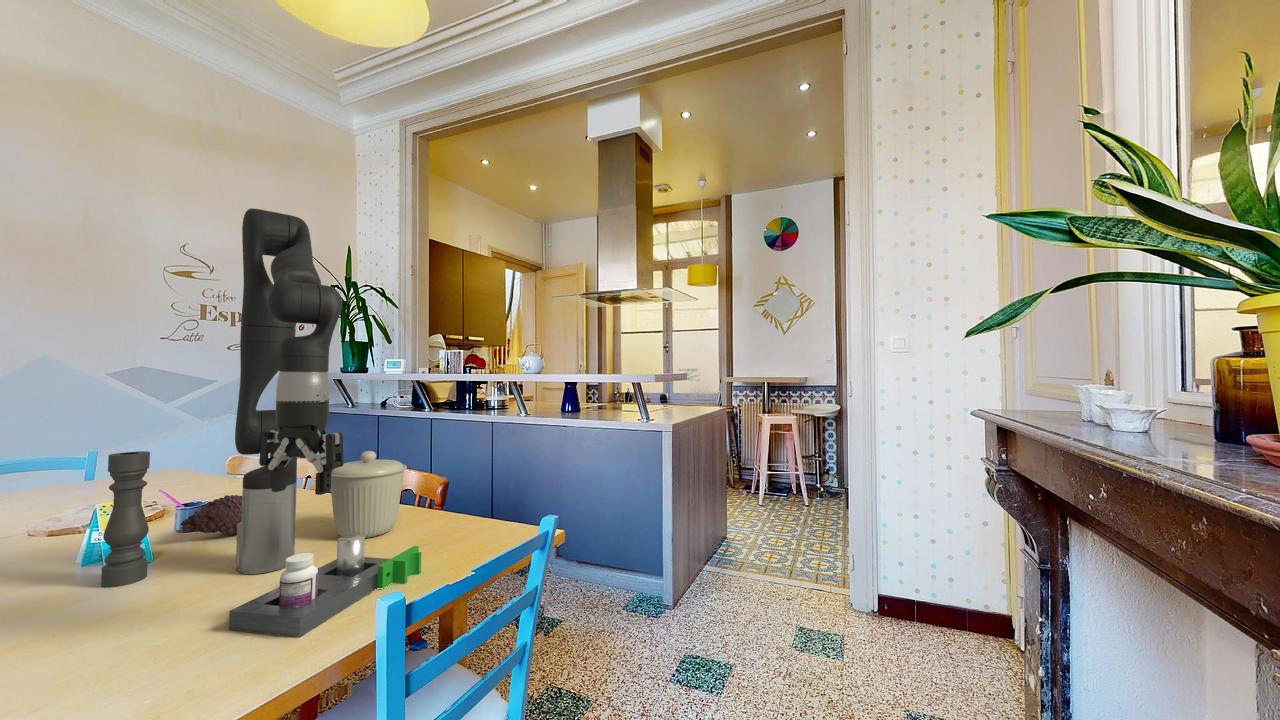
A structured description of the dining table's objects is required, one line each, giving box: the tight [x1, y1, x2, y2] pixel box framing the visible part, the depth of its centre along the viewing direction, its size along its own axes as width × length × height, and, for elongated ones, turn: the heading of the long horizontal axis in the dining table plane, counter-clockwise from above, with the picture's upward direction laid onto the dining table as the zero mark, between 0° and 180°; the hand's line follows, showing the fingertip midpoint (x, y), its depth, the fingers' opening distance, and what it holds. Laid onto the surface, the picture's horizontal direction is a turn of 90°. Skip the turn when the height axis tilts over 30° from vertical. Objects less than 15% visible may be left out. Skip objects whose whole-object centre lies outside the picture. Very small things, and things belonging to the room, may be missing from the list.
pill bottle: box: [278, 552, 318, 608], centre depth 82 cm, size 5×5×10 cm
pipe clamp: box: [377, 545, 422, 589], centre depth 97 cm, size 11×4×5 cm, turn 171°
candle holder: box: [100, 450, 151, 588], centre depth 95 cm, size 6×6×25 cm
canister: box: [330, 450, 407, 539], centre depth 124 cm, size 18×18×21 cm
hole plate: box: [228, 556, 391, 638], centre depth 87 cm, size 13×24×3 cm, turn 171°
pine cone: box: [180, 494, 242, 536], centre depth 121 cm, size 18×10×10 cm, turn 143°
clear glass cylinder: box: [336, 534, 366, 577], centre depth 93 cm, size 5×5×9 cm
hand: (300, 492), depth 82 cm, fingers open, 8 cm apart
